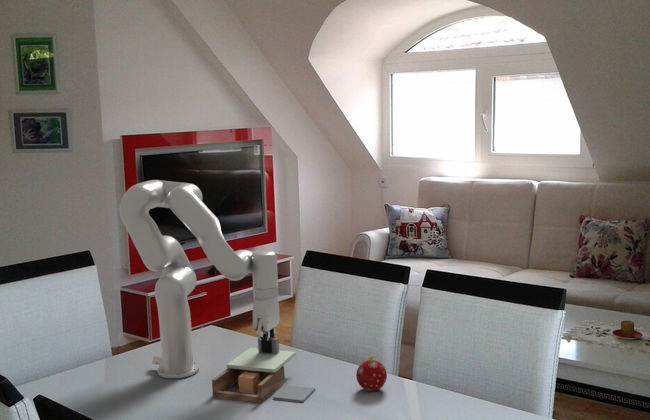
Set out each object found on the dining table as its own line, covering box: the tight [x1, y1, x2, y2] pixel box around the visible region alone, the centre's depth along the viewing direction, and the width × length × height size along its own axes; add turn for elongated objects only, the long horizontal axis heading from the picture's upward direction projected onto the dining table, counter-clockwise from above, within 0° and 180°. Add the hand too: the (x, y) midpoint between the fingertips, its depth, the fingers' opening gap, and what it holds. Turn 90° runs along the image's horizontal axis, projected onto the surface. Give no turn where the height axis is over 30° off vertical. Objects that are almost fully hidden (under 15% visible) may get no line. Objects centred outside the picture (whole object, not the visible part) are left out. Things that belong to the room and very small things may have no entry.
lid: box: [226, 337, 297, 373], centre depth 213 cm, size 15×15×6 cm
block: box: [238, 371, 261, 394], centre depth 205 cm, size 4×4×4 cm
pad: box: [272, 384, 316, 403], centre depth 201 cm, size 9×9×1 cm
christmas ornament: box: [355, 355, 388, 392], centre depth 202 cm, size 9×9×10 cm
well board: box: [211, 365, 286, 404], centre depth 205 cm, size 15×15×5 cm
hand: (268, 350), depth 218 cm, fingers closed on lid, 2 cm apart
